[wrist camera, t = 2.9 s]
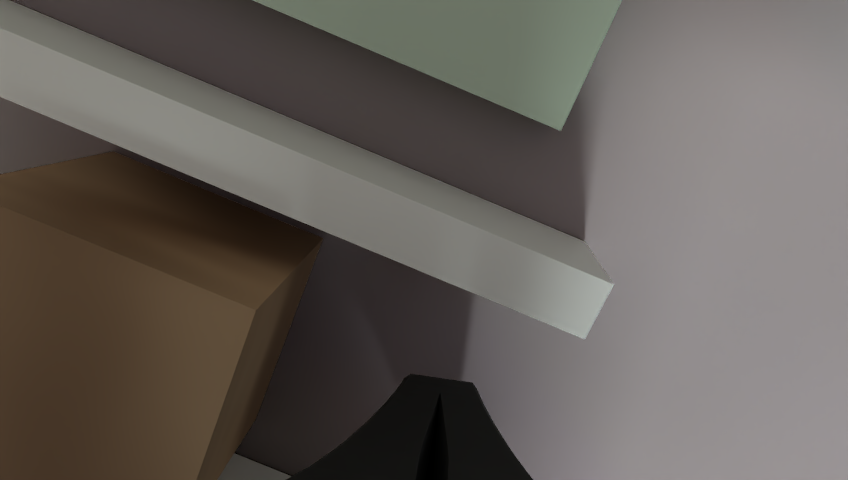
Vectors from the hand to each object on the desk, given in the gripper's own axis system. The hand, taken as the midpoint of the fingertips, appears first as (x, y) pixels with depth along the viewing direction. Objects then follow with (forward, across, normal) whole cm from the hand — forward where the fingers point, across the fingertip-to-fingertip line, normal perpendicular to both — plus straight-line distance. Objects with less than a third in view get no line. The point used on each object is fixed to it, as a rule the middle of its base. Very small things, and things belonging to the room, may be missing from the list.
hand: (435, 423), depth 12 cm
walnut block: (+1, +6, -2) cm, 6 cm away
